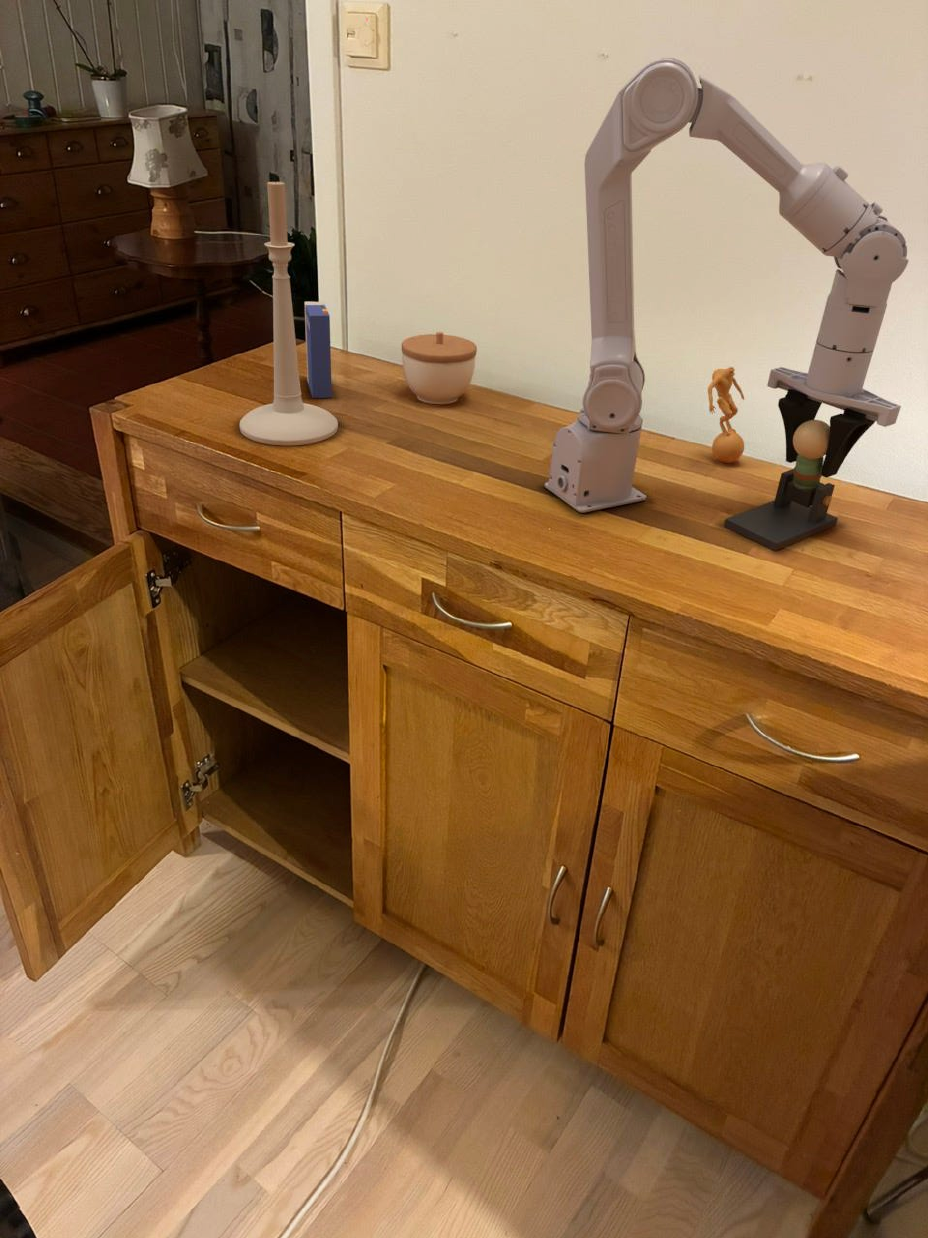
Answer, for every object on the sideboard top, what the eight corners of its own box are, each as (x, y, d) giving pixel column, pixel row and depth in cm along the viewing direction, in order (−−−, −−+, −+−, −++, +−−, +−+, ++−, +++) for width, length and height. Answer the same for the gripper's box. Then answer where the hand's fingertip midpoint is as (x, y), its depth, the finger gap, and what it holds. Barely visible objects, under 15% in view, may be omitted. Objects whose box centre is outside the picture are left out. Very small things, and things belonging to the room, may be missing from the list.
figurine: (722, 474, 115) (743, 380, 109) (681, 460, 119) (698, 368, 112) (753, 457, 121) (775, 367, 114) (713, 444, 124) (731, 356, 118)
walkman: (332, 397, 132) (329, 312, 125) (312, 398, 131) (309, 312, 125) (325, 380, 138) (323, 298, 132) (307, 380, 138) (303, 298, 131)
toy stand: (775, 551, 98) (786, 509, 96) (723, 526, 103) (732, 485, 100) (836, 525, 104) (848, 485, 102) (784, 502, 109) (794, 463, 106)
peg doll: (807, 512, 102) (821, 434, 96) (776, 499, 105) (787, 422, 99) (830, 498, 104) (845, 421, 98) (799, 485, 106) (811, 409, 100)
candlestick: (294, 453, 114) (280, 189, 98) (219, 429, 119) (194, 176, 103) (357, 424, 123) (354, 179, 107) (284, 404, 129) (271, 167, 113)
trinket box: (473, 411, 130) (477, 345, 125) (398, 407, 130) (399, 341, 125) (474, 387, 139) (477, 324, 134) (403, 383, 139) (404, 320, 134)
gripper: (930, 358, 92) (889, 482, 99) (807, 323, 101) (777, 439, 109) (893, 368, 88) (853, 497, 96) (768, 331, 98) (741, 451, 105)
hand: (810, 467), depth 102 cm, fingers closed on peg doll, 4 cm apart
